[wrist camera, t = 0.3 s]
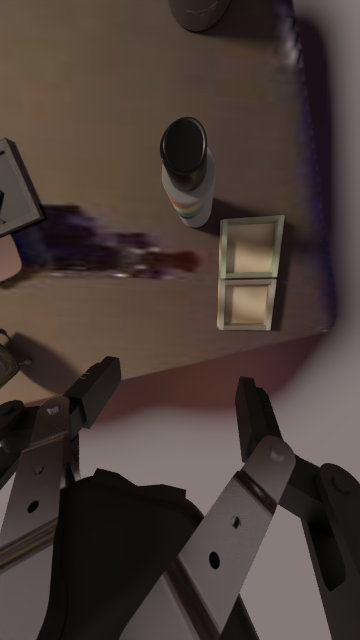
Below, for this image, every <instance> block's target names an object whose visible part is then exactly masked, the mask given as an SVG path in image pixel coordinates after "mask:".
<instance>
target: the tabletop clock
mask: <svg viewBox="0 0 360 640" xmlns="http://www.w3.org/2000/svg"><path fill="white" fill-rule="evenodd" d="M0 332H1V331H0ZM31 363H32V361H31V360H30V359H26V360H25V361H24V362H22V363H18V362H17V360H16V359H15V358H14V357H13V356H12V355H11V353H10V352H9V351H8V350H7V349H6V348H5V347H4V346H3V345H1V344H0V389H1V388H2V387H3V386H4V385H5V384H6V383H7V382H8V381H9V380H10V379H12V378H13V377H14V376H15V375H16V374H17V373H18V371H19V370H20V369H21V368H20V365H23V364H25V365H30V364H31Z"/></svg>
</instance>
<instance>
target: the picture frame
mask: <svg viewBox="0 0 360 640" xmlns="http://www.w3.org/2000/svg"><path fill="white" fill-rule="evenodd" d="M41 219H44V216H43V214H42V211H41V209H40V207H39V205H38V202H37V200H36V198H35V195H34V193H33V191H32V189H31V186H30V184H29V182H28V179H27V177H26V175H25V173H24V170H23V168H22V166H21V164H20V161H19V159H18V157H17V154H16V152H15V150H14V148H13V145H12V143H11V141H10V140H9V139H7V138H3V139H1V140H0V238H2V237H5V236H7V235H9V233H11V232H13V231H15V230H18V229H20V228H22V227H25V226H27V225H29V224H32V223H34V222H37V221H39V220H41Z"/></svg>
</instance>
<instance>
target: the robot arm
mask: <svg viewBox="0 0 360 640" xmlns="http://www.w3.org/2000/svg"><path fill="white" fill-rule="evenodd" d="M230 1H231V0H169V4H170V7H171V10H172V13H173V15H174V17H175V18H176V20H177V21H178V22H179V23H180V25H181V26H183V27H184V28H186V29H187V30H191V31H202V30H205V29H208V28H209V27H211V26H212V25H214V24H215V23H216V22H217V21H218V20H219V19H220V18H221V17H222V15H223V14H224V12H225V11H226V9H227V7H228V5H229V3H230ZM120 381H121V369H120V361H119V358H116V357H110V356H107V357H105V358H104V359H103V360H102V362H101V363H96V364H95V365H93V366H91V367H90V368H89V369H88V370H87V371H86V372H85V374H83V375H82V376H81V378H79V379H78V380H77V381H76V382H75V383H74V384H73V385H72V386H71V387H70V388H69V389H68V390H67V391H66V392H65V393H64V394H63V396H58V397H54V398H51V399H49V400H47V401H46V402H45V403H43V404H42V405H41V406H34V407H25V406H24V404H23V402H22V401H20V400H13V401H9V402H6V403H3V404H1V405H0V444H1V445H2V446H1V447H0V490H1V489H2V488H3V486H4V485H5V484H6V483H7V481H8V480H9V479H10V478H11V477H12V475H13V474H14V473H15V472H16V475H15V478H14V482H13V486H12V490H11V494H10V498H9V502H8V505H7V509H6V513H5V517H4V521H3V525H2V529H1V533H0V640H259V637H258V635H257V633H256V631H255V628H254V626H253V624H252V621H251V619H250V617H249V615H248V612H247V610H246V608H245V605H244V603H243V601H242V598H241V596H240V594H239V592H240V590H241V588H242V585H243V583H244V581H245V579H246V576H247V574H248V572H249V570H250V567H251V565H252V563H253V561H254V558H255V556H256V553H257V551H258V549H259V546H260V545H261V542H262V540H263V538H264V536H265V533H266V531H267V529H268V526H269V524H270V522H271V520H272V517H273V515H274V513H275V510H276V507H277V505H280V506H282V507H283V508H285V509H286V510H288V511H290V512H291V513H293V514H295V515H296V516H298V517H299V518H301V522H302V526H303V530H304V534H305V538H306V541H307V545H308V549H309V553H310V557H311V560H312V564H313V568H314V572H315V576H316V580H317V583H318V587H319V591H320V595H321V599H322V603H323V606H324V611H325V614H326V618H327V622H328V626H329V629H330V634H331V637H332V640H360V484H359V482H358V481H357V480H356V479H355V478H354V477H353V476H352V475H351V474H350V473H349V472H347V471H346V470H344V469H343V468H341V467H340V466H337V465H335V464H331V463H325V464H323V465H322V466H321V467H318V466H316V465H314V464H312V463H310V462H308V461H306V460H304V459H302V458H300V457H299V456H297V455H296V454H294V452H293V450H292V449H291V447H290V446H289V445H288V444H287V443H286V442H284V440H283V438H282V436H281V433H280V430H279V426H278V424H277V421H276V418H275V414H274V412H273V409H272V406H271V403H270V400H269V397H268V395H267V394H266V392H265V391H264V390H263V389H262V388H259V387H256V385H255V382H254V379H253V378H251V377H244V376H240V378H239V382H238V387H237V391H236V397H235V405H236V414H237V422H238V431H239V438H240V448H241V456H242V462H244V463H245V464H244V466H243V467H242V469H241V470H240V471H237V472H236V473H235V475H234V476H233V477H232V478H231V480H230V481H229V483H228V484H227V486H226V487H225V489H224V490H223V491H222V493H221V494H220V496H219V497H218V499H217V500H216V502H215V503H214V505H213V506H212V507H211V509H210V510H209V512H208V513H207V515H206V516H205V517H204V515H203V514H202V512H201V511H200V510H199V509H198V508H197V507H196V506H195V505H194V504H193V503H192V502H191V501H189V500H188V499H186V498H185V497H186V490H184V489H180V488H176V487H172V486H168V485H163V484H160V485H148V486H136V485H135V484H133V483H132V482H130V481H128V480H127V479H126V478H124V477H123V476H121V475H120V474H118V473H115V472H111V471H107V470H103V469H99V468H97V469H96V471H95V473H94V475H93V476H90V477H86V478H83V479H81V476H80V469H79V433H78V432H79V431H80V430H81V428H82V427H83V428H88V429H90V427H91V426H92V424H93V423H94V421H95V420H96V418H97V416H98V415H99V414H100V412H101V411H102V409H103V408H104V406H105V405H106V403H107V402H108V400H109V399H110V397H111V396H112V394H113V393H114V391H115V390H116V388H117V387H118V385H119V383H120ZM16 470H17V471H16Z"/></svg>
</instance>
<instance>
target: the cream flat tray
mask: <svg viewBox="0 0 360 640" xmlns="http://www.w3.org/2000/svg"><path fill="white" fill-rule="evenodd" d="M284 217H285V215H278V216H263V217H248V218H233V219H223V220H221V221H220V250H219V284H218V317H217V327H219V330H270V328H271V320H272V312H273V305H274V297H275V289H276V281H277V279H274V277H277V273H278V265H279V257H280V249H281V241H282V233H283V225H284Z"/></svg>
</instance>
